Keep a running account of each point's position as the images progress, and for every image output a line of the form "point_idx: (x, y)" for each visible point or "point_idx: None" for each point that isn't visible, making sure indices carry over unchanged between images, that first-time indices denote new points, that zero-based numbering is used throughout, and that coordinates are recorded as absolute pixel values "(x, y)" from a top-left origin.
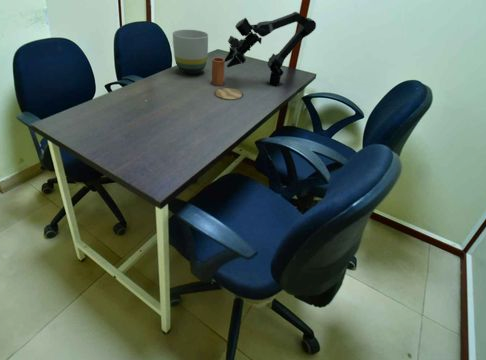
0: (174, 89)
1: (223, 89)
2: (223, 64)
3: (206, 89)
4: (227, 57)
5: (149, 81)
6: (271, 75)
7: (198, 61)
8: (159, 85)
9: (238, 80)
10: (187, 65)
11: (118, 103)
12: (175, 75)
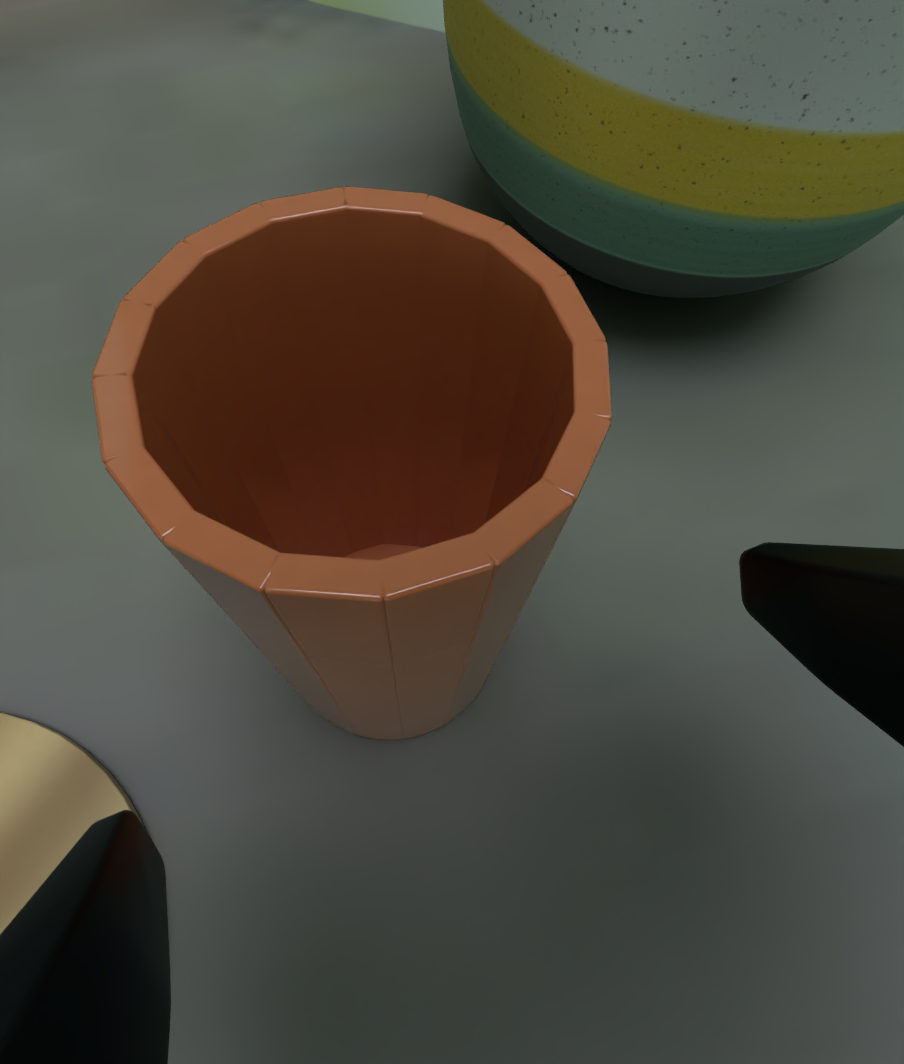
0: (7, 208)
1: (71, 825)
2: (276, 631)
3: (70, 535)
4: (901, 620)
5: (194, 7)
6: None
7: (542, 97)
8: (105, 82)
9: (735, 1010)
10: (450, 63)
11: None
12: (453, 126)
